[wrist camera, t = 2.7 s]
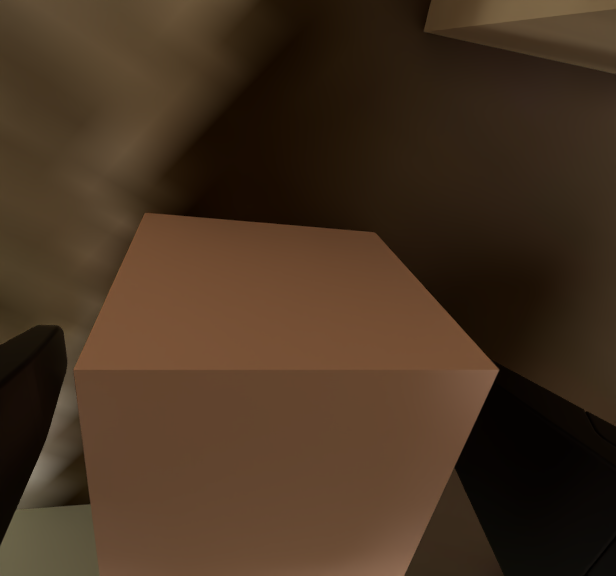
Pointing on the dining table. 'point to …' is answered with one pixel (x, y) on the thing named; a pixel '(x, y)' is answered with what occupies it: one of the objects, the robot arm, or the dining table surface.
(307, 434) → the terracotta block
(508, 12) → the birch block
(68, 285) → the dining table surface
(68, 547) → the sage block
